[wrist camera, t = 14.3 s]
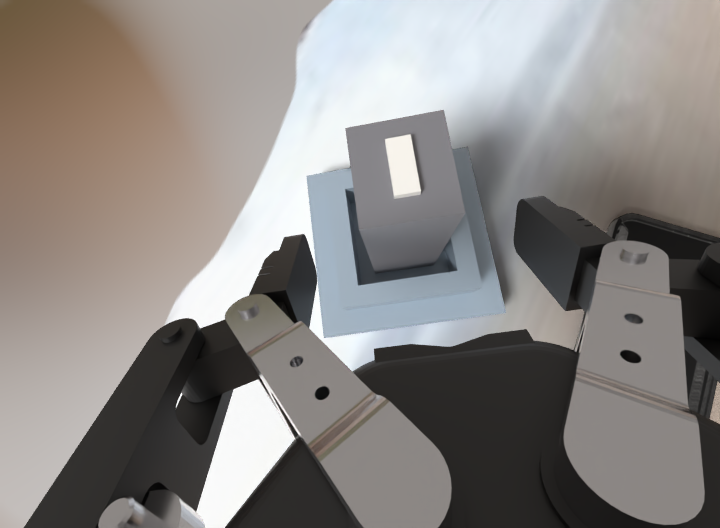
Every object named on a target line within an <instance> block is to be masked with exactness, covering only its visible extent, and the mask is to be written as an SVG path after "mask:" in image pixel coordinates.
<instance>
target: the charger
mask: <svg viewBox="0 0 720 528" xmlns="http://www.w3.org/2000/svg"><path fill="white" fill-rule="evenodd" d="M345 129H346V136H347V144H348V151H349V158H350V166H351V173H352V181H353V188H354V196H355V203H356V211H357V218H358V225H359V231H360V234H361V236H362V239H363V242H364V244H365V247H366V250H367V252H368V255H369V258H370V260H371V263H372V266H373V268H374V271H375V274H377V273H384V272H391V271H398V270H405V269H412V268H418V267H425V266H432V265H434V264H435V263H436V261H437V259H438V258H439V256H440V254H441V253H442V251H443V249H444V248H445V246H446V244H447V243H448V241H449V239H450V238H451V236H452V234H453V233H454V231H455V229H456V228H457V226H458V224H459V223H460V221H461V219H462V218H463V216H464V214H465V208H464V203H463V199H462V194H461V189H460V185H459V180H458V175H457V170H456V166H455V161H454V156H453V152H452V147H451V142H450V137H449V133H448V128H447V123H446V119H445V114H444V110H441V111H435V112H430V113H425V114H419V115H414V116H408V117H403V118H398V119H392V120H387V121H382V122H376V123H371V124H365V125H360V126H355V127H349V128H345Z"/></svg>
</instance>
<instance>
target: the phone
mask: <svg viewBox="0 0 720 528" xmlns="http://www.w3.org/2000/svg"><path fill="white" fill-rule="evenodd" d="M607 235H609V236H610V237H612V238H613V239H615V240H616V241H624V240H625V241H637V242H643V243H647V244H650V245H653V246H655V247H657V248H659V249H661V250H663V251H664V252H665V253H666V254H667V255H668V258H669V259H691V260H701V258H702V256H703V254H704V252H705V250H706V248H707V247H708V246H709V245H711V244H715V243H720V238H717V237H714V236H710V235H707V234H704V233H700V232H697V231H693V230H690V229H687V228H683V227H680V226H676V225H673V224H670V223H666V222H663V221H659V220H656V219H653V218H649V217H646V216H642V215H639V214H634V213H631V214H626V215H623V216H621V217H619V218H617V219H615V220H614V221H612V222H611V224H610V226H609V228H608V231H607ZM579 331H580V330H579ZM578 335H579V334H578ZM577 339H578V337H577ZM576 343H577V341H576ZM575 348H576V344H575ZM575 348H574V351H575ZM684 352H685V367H686V382H687V397H688V406H689V409H691V410H693V411H695V412H697V413H699V414H701V415H703V416H704V417H706V418H708V419H709V418H710V414H711V409H712V404H713V400H714V395H715V390H716V386H717V380H716V379H715V378H714V377H713V376H712V375H711V374H710V373H709V372H708V371H707V370H706V369H705V368H704V367H703V366H702V365H701V364H700V363H699V362H698V361H697V360H696V359H695V358H693V357H692V356H691V355H690V354H689V353H688V352H687V351H686V350H685V349H684Z"/></svg>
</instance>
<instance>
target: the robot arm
mask: <svg viewBox="0 0 720 528" xmlns="http://www.w3.org/2000/svg"><path fill="white" fill-rule="evenodd" d="M514 246H515V249H516V252H517V253H518V255H519V256H520V257H521V258H522V260H523V261H524V262H525V263H526V264H527V266H528V267H529V268H530V269H531V270H532V272H533V273H534V274H535V275H536V276H537V278H538V279H539V280H540V281H541V282H542V284H543V285H544V286H545V287H546V288H547V290H548V291H549V292H550V293H551V294H552V296H553V297H554V298H555V299H556V301H557V302H558V303H559V304H560V305H561V307H562V308H563V309H564V310H565V311H569V310H577V309H583V310H584V311H585V312H584V315H583V319H582V323H581V327H580V331H579V335H578V339H577V343H576V348H575V351H574V350H571V349H569V348H566V347H563V346H560V345H556V344H551V343H547V342H540V341H533V339H532V337H531V336H530V334H529V333H528V331H527V330H526V329H525V330H517V331H509V332H501V333H494V334H487V335H484V336H481V337H479V338H476V339H473V340H470V341H467V342H464V343H462V344H459V345H456V346H452V347H442V346H429V345H415V344H408V345H400V346H392V347H385V348H377V349H374V355H375V360H374V361H372V362H369V363H367V364H365V365H363V366H361V367H359V368H357V369H356V370H354V371H353V372H352V371H351V370H350V369H349V368H348V367H347V366H346V365H345V364H344V363H343V362H342V361H341V360H340V359H339V358H338V357H337V356H336V355H335V354H334V353H333V352H332V351H331V350H330V349H329V348H328V347H327V346H326V345H325V344H324V343H323V342H322V341H321V340H320V339H319V338H318V337H317V336H316V335H315V334H314V333H313V332H312V331H311V330H310V329H309V326H310V320H311V314H312V308H313V302H314V296H315V291H316V285H317V274H316V269H315V265H314V262H313V258H312V255H311V252H310V248H309V245H308V242H307V239H306V237H305V235H304V234H301V235H295V236H289V237H285V238H284V239H283V242H282V245H281V247H280V250H279V251H273V252H272V253H271V254H270V255H269V256H268V257H267V258H266V259H265V261H264V263H263V265H262V267H261V268H262V269H261V270H260V272H259V274H258V275H259V276H257V279H256V281H255V283H254V285H253V288H252V290H251V292H250V294H249V296H247V297H244V298H242V299H240V300H238V301H237V302H235V303H234V304H233V305H232V306H231V307H230V308H229V309H228V310H227V312H226V314H225V320H223V321H220V322H217V323H215V324H212V325H209V326H206V327H203V328H201V329H200V328H199V326H198V324H197V323H196V321H195V320H193V319H189V318H185V319H179V320H176V321H173V322H171V323H169V324H167V325H165V326H163V327H162V328H160V329H159V330H157V331H156V333H154V334H153V335H152V336H151V337H150V339H149V340H148V342H147V343H146V345H145V346H144V348H143V349H142V351H141V352H140V354H139V355H138V357H137V358H136V360H135V361H134V363H133V364H132V366H131V367H130V369H129V370H128V372H127V373H126V375H125V376H124V378H123V379H122V381H121V382H120V384H119V385H118V387H117V388H116V390H115V391H114V393H113V394H112V396H111V397H110V399H109V400H108V402H107V403H106V405H105V406H104V408H103V409H102V411H101V412H100V414H99V416H98V417H97V418H96V420H95V421H94V423H93V424H92V426H91V427H90V429H89V431H88V432H87V433H86V435H85V436H84V438H83V439H82V441H81V442H80V444H79V445H78V447H77V448H76V450H75V452H74V453H73V454H72V456H71V457H70V459H69V461H68V462H67V464H66V465H65V466H64V468H63V469H62V471H61V473H60V474H59V475H58V477H57V479H56V480H55V482H54V483H53V485H52V486H51V488H50V489H49V491H48V492H47V494H46V495H45V497H44V498H43V500H42V501H41V503H40V504H39V506H38V508H37V509H36V510H35V512H34V513H33V515H32V516H31V518H30V519H29V521H28V522H27V524H26V525H25V527H24V528H205V526H204V522H203V519H202V518H201V516H200V515H199V514H198V513H196V511H197V507H198V504H199V501H200V497H201V494H202V491H203V488H204V484H205V481H206V478H207V474H208V471H209V468H210V465H211V461H212V458H213V455H214V451H215V448H216V445H217V442H218V438H219V435H220V432H221V428H222V425H223V422H224V419H225V415H226V412H227V409H228V405H229V402H230V399H231V396H232V392H233V389H235V388H238V387H240V386H242V385H245V384H247V383H250V382H252V381H255V380H257V379H258V380H259V382H260V384H261V385H262V387H263V388H264V390H265V392H266V393H267V395H268V397H269V398H270V400H271V401H272V403H273V405H274V406H275V408H276V409H277V411H278V413H279V414H280V416H281V418H282V419H283V421H284V423H285V424H286V426H287V428H288V430H289V431H290V433H291V435H292V436H293V438H294V441H293V442H292V444H291V445H290V446H289V447H288V449H287V450H286V451H285V452H284V454H283V455H282V456H281V457H280V459H279V460H278V461H277V463H276V464H275V465H274V466H273V468H272V469H271V470H270V471H269V473H268V474H267V475H266V476H265V478H264V479H263V480H262V481H261V483H260V484H259V485H258V486H257V488H256V489H255V490H254V491H253V493H252V494H251V495H250V497H249V498H248V499H247V500H246V502H245V503H244V504H243V505H242V507H241V508H240V509H239V510H238V512H237V513H236V514H235V515H234V517H233V518H232V519H231V520H230V522H229V523H228V524H227V526H226V527H225V528H720V424H718V423H716V422H714V421H712V420H710V419H708V418H706V417H704V416H703V415H701V414H699V413H697V412H695V411H693V410H691V409H689V406H688V397H687V382H686V367H685V352H684V349H685V350H686V351H687V352H688V353H689V354H690V355H691V356H692V357H693V358H695V359H696V360H697V361H698V362H699V363H700V364H701V365H702V366H703V367H704V368H705V369H706V370H707V371H708V372H709V373H710V374H711V375H712V376H713V377H714V378H715V379H716V380H717V381H718V382H719V383H720V243H715V244H711V245H709V246H708V247H707V248H706V250H705V252H704V254H703V256H702V258H701V260H691V259H669V258H668V255H667V254H666V253H665V252H664V251H663V250H661V249H659V248H657V247H655V246H653V245H650V244H647V243H643V242H637V241H625V240H624V241H616V240H615V239H613V238H612V237H610V236H609V235H607V234H606V233H605V232H603V231H602V230H600V229H599V228H597V227H596V226H593V224H592V223H590V222H589V221H587V220H585V218H583V217H582V216H580V215H579V214H577V213H576V212H574V211H572V210H569V209H566V208H563V207H558V206H557V205H556V204H554V203H553V202H551V201H550V200H549V199H547V198H546V197H544V196H539V197H533V198H527V199H521V200H520V201H519V202H518V205H517V213H516V222H515V232H514ZM181 393H182V394H183V395H182V397H181V399H180V401H179V403H178V406H177V408H176V403H177V400H178V398H179V396H180V394H181Z"/></svg>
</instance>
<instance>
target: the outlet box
mask: <svg viewBox="0 0 720 528" xmlns="http://www.w3.org/2000/svg"><path fill="white" fill-rule="evenodd" d="M452 152H453V156H454V161H455V166H456V170H457V175H458V180H459V185H460V189H461V194H462V199H463V203H464V208H465V214H464V216H463V218H462V219H461V221H460V223H459V224H458V226H457V228H456V229H455V231H454V233H453V234H452V236H451V238H450V239H449V241H448V243H447V244H446V246H445V248H444V249H443V251H442V253H441V254H440V256H439V258H438V259H437V261H436V263H435V264H434V265H432V266H425V267H418V268H412V269H405V270H398V271H391V272H384V273H377V274H375V271H374V268H373V266H372V263H371V260H370V258H369V255H368V252H367V250H366V247H365V244H364V242H363V239H362V236H361V234H360V231H359V225H358V218H357V211H356V203H355V196H354V188H353V181H352V173H351V168H348V169H342V170H337V171H331V172H326V173H320V174H315V175H309V176H307V184H308V194H309V203H310V212H311V222H312V231H313V240H314V250H315V259H316V268H317V278H318V287H319V296H320V306H321V315H322V324H323V334H324V338H327V337H335V336H342V335H349V334H356V333H364V332H371V331H378V330H385V329H393V328H400V327H407V326H414V325H422V324H429V323H436V322H443V321H451V320H458V319H465V318H473V317H480V316H487V315H494V314H501V313H506V310H505V306H504V302H503V297H502V293H501V289H500V284H499V280H498V276H497V271H496V267H495V263H494V258H493V254H492V250H491V245H490V241H489V237H488V232H487V228H486V224H485V219H484V215H483V211H482V206H481V202H480V198H479V193H478V189H477V185H476V180H475V176H474V172H473V167H472V163H471V159H470V154H469V150H468V147H464V148H458V149H453V150H452Z"/></svg>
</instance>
